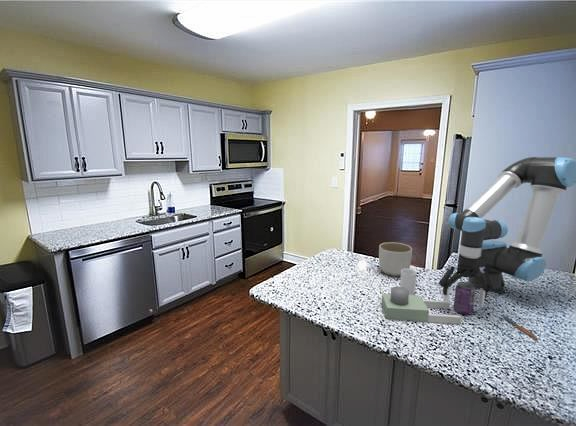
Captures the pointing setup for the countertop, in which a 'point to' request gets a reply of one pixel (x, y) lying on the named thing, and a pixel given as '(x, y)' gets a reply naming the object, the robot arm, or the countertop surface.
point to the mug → (408, 280)
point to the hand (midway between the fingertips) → (463, 302)
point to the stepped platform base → (414, 307)
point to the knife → (521, 329)
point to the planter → (394, 257)
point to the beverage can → (464, 298)
